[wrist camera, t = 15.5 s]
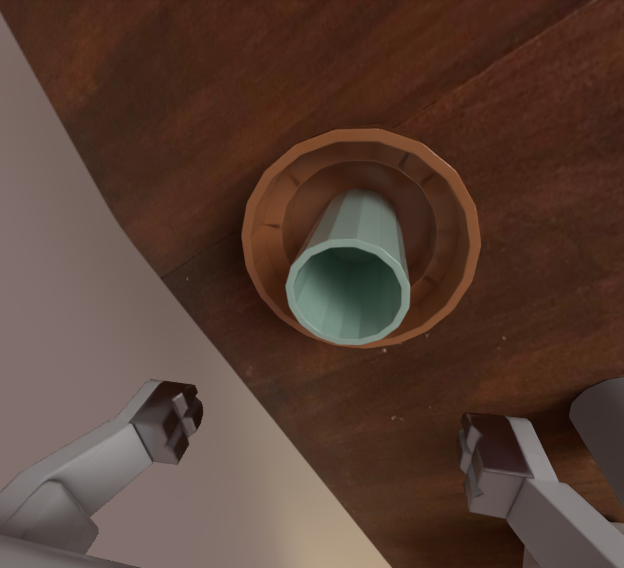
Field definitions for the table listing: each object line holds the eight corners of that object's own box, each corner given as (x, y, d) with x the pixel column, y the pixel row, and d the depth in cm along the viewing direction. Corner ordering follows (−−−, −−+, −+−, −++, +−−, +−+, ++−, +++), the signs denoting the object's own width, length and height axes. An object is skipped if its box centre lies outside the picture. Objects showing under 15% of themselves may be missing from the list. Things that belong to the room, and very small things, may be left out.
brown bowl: (256, 271, 28) (228, 308, 23) (294, 93, 21) (266, 89, 16) (406, 324, 28) (411, 373, 23) (499, 163, 20) (538, 182, 15)
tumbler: (310, 249, 25) (274, 322, 17) (333, 176, 22) (303, 220, 14) (380, 273, 25) (380, 359, 17) (413, 204, 22) (433, 266, 14)
